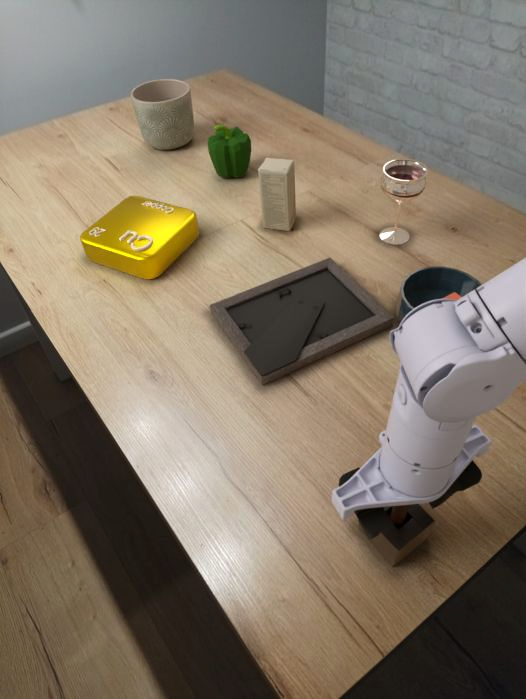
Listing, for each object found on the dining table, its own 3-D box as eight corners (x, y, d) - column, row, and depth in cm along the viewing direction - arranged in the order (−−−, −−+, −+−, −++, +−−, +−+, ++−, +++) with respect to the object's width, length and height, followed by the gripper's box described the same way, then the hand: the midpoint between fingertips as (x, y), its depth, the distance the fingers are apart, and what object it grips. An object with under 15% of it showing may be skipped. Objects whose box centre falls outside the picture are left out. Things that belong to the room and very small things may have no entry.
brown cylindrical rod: (400, 528, 53) (417, 481, 46) (398, 541, 52) (414, 495, 45) (387, 524, 54) (401, 476, 46) (384, 536, 53) (398, 490, 45)
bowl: (482, 298, 76) (491, 275, 72) (474, 353, 69) (483, 330, 65) (404, 283, 79) (408, 260, 75) (389, 334, 72) (393, 311, 68)
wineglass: (378, 221, 90) (386, 156, 81) (417, 227, 88) (431, 161, 79) (370, 244, 86) (378, 177, 77) (411, 250, 84) (425, 183, 75)
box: (296, 218, 92) (296, 159, 84) (289, 232, 89) (288, 173, 81) (268, 214, 93) (265, 156, 85) (261, 227, 91) (257, 169, 82)
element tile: (204, 232, 90) (200, 208, 87) (153, 283, 82) (147, 259, 78) (136, 213, 96) (130, 190, 92) (82, 259, 87) (72, 235, 84)
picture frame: (262, 385, 67) (392, 325, 73) (261, 375, 65) (394, 315, 71) (211, 312, 77) (329, 265, 83) (209, 302, 75) (330, 255, 81)
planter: (133, 153, 112) (120, 101, 104) (153, 127, 120) (143, 77, 112) (187, 156, 110) (178, 103, 102) (204, 130, 118) (197, 79, 110)
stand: (392, 500, 55) (397, 482, 52) (428, 537, 52) (435, 520, 49) (357, 527, 53) (361, 510, 51) (392, 567, 51) (398, 551, 48)
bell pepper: (252, 161, 107) (249, 112, 99) (253, 182, 101) (249, 131, 94) (212, 164, 107) (206, 115, 100) (210, 184, 101) (204, 134, 94)
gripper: (466, 368, 44) (435, 452, 54) (315, 431, 40) (312, 508, 50) (527, 431, 39) (480, 509, 50) (363, 508, 36) (349, 576, 46)
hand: (398, 513), depth 50 cm, fingers open, 6 cm apart
